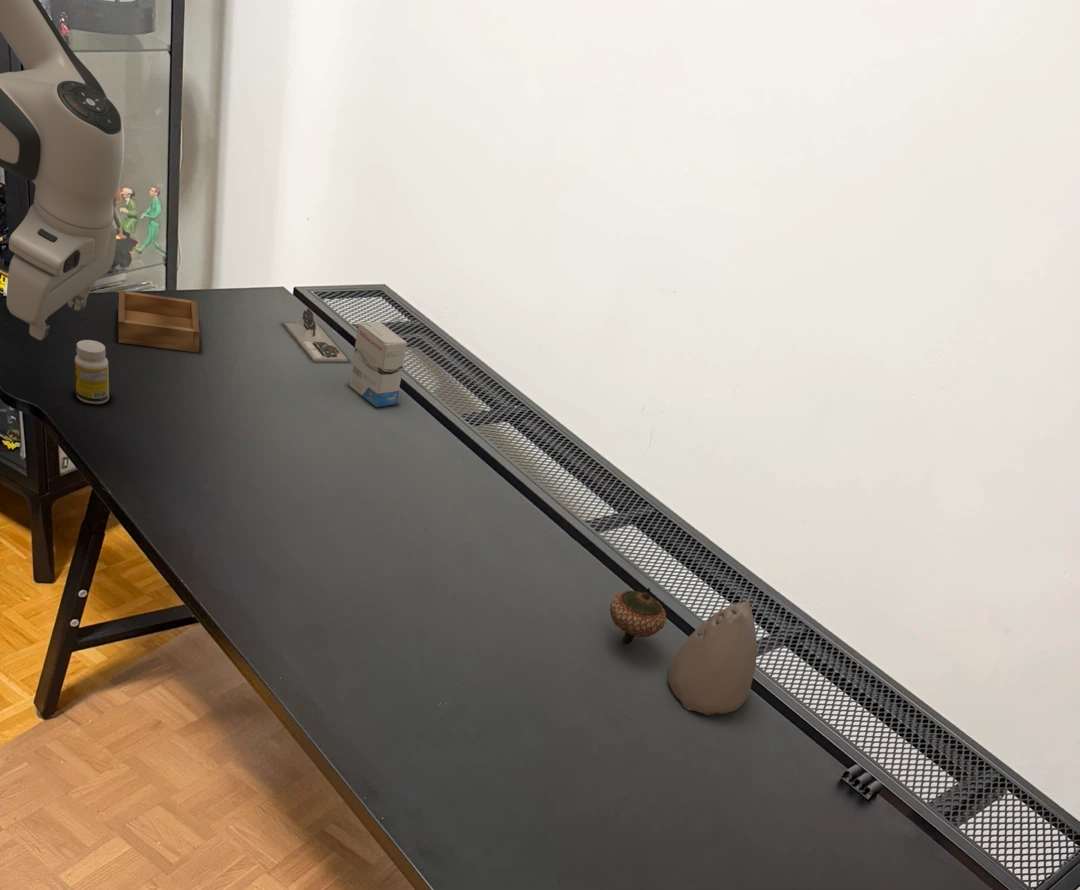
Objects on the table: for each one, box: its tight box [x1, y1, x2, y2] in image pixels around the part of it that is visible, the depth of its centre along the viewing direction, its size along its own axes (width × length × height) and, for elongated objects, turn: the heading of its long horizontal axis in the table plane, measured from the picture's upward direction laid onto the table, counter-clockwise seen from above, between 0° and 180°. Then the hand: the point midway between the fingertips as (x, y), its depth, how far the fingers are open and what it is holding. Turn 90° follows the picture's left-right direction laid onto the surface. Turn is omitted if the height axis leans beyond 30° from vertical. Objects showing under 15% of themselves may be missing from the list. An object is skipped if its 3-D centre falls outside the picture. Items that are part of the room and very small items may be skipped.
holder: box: [117, 289, 201, 354], centre depth 179 cm, size 13×13×4 cm
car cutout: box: [283, 308, 349, 363], centre depth 191 cm, size 15×7×4 cm, turn 31°
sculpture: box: [667, 598, 758, 716], centre depth 138 cm, size 13×12×15 cm
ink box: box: [348, 321, 408, 408], centre depth 179 cm, size 9×5×12 cm, turn 42°
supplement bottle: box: [74, 339, 110, 405], centre depth 155 cm, size 5×5×8 cm
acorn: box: [609, 587, 667, 646], centre depth 143 cm, size 8×8×10 cm
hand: (57, 321), depth 136 cm, fingers open, 8 cm apart
